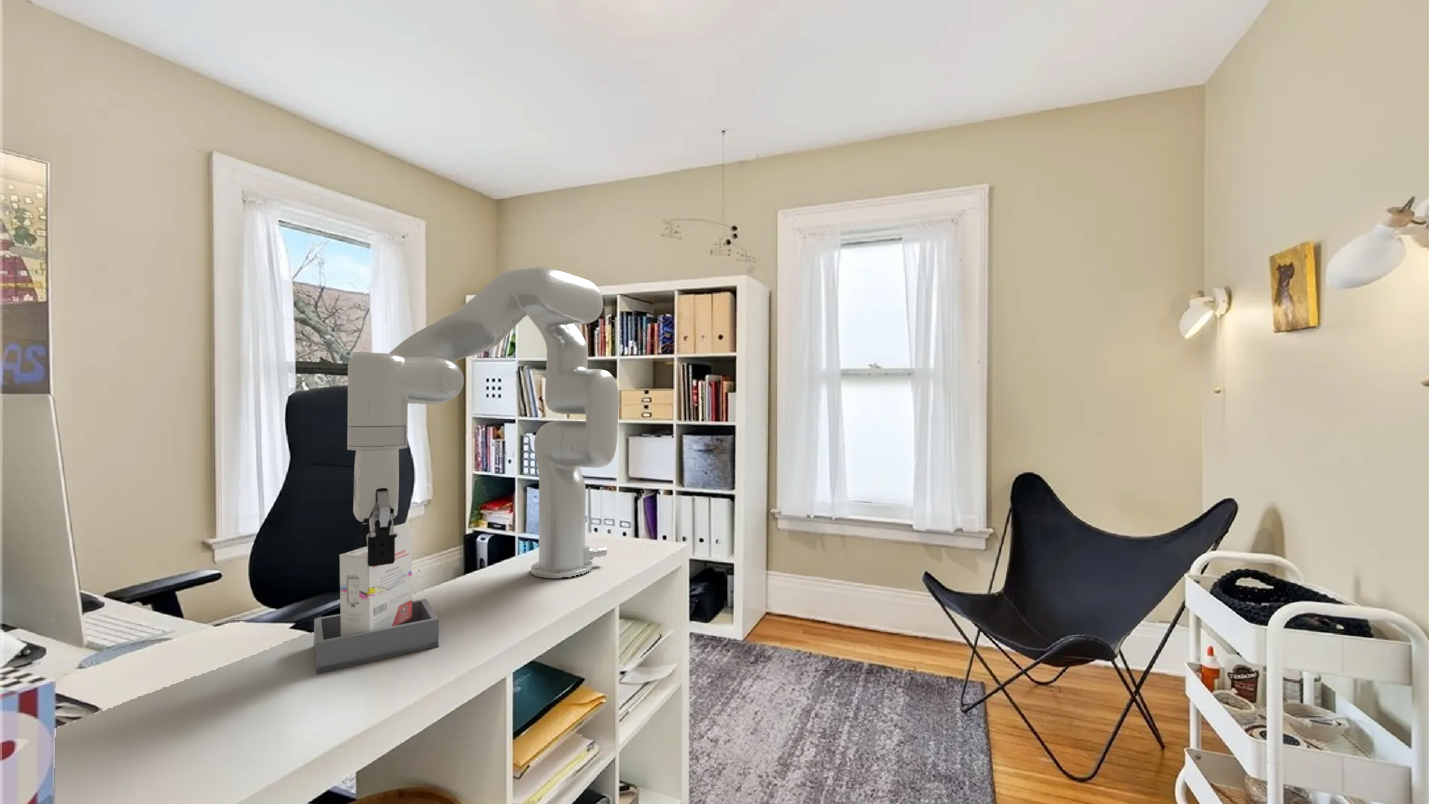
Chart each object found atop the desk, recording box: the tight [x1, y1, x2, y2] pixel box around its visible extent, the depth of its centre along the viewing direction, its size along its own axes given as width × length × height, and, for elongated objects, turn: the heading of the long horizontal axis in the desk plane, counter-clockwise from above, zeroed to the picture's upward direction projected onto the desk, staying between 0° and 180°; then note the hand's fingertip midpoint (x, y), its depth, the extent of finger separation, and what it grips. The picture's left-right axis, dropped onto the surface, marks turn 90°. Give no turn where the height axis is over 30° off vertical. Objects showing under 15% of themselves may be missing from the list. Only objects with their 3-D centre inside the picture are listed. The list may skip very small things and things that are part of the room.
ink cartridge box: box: [339, 521, 413, 636], centre depth 83 cm, size 9×5×15 cm, turn 168°
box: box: [313, 598, 440, 675], centre depth 83 cm, size 15×11×4 cm
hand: (377, 556), depth 83 cm, fingers closed on ink cartridge box, 9 cm apart
